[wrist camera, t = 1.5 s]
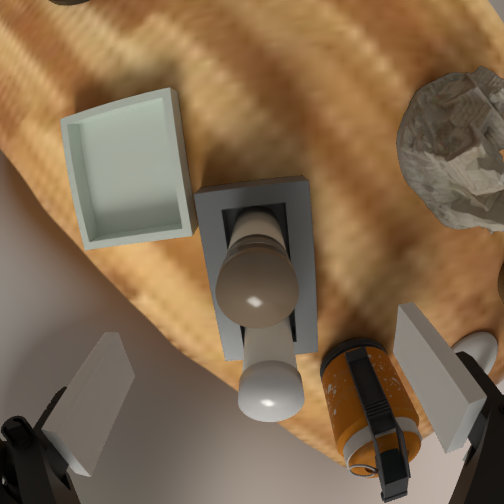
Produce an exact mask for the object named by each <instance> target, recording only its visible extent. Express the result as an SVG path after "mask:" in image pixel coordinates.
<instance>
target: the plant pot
mask: <svg viewBox="0 0 504 504" xmlns="http://www.w3.org/2000/svg"><path fill="white" fill-rule="evenodd" d="M498 292H499V294H500V297H501V299H502V301H503V303H504V265H503V267H502V269H501V272H500V275H499V279H498Z"/></svg>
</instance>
